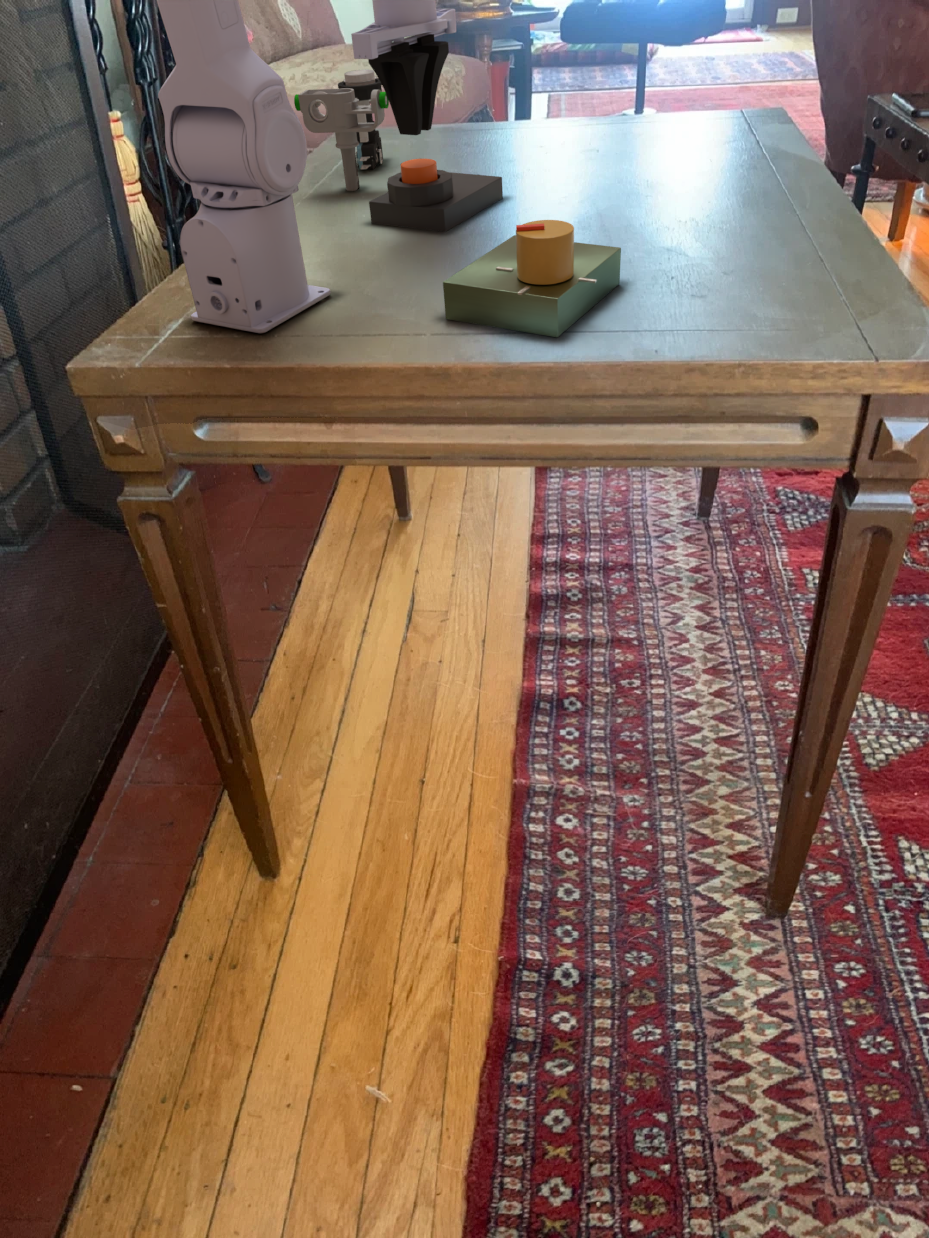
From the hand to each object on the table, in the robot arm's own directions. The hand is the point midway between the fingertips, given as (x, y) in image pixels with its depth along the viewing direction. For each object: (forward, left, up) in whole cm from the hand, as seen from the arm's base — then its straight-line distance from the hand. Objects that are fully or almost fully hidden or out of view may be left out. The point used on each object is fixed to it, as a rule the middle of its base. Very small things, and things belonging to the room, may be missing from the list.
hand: (415, 132), depth 90 cm
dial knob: (-18, -23, -5) cm, 30 cm away
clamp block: (-16, -21, -8) cm, 28 cm away
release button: (0, 0, -5) cm, 5 cm away
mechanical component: (+7, +14, -8) cm, 18 cm away
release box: (+3, 0, -8) cm, 9 cm away
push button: (+16, +18, -8) cm, 26 cm away
